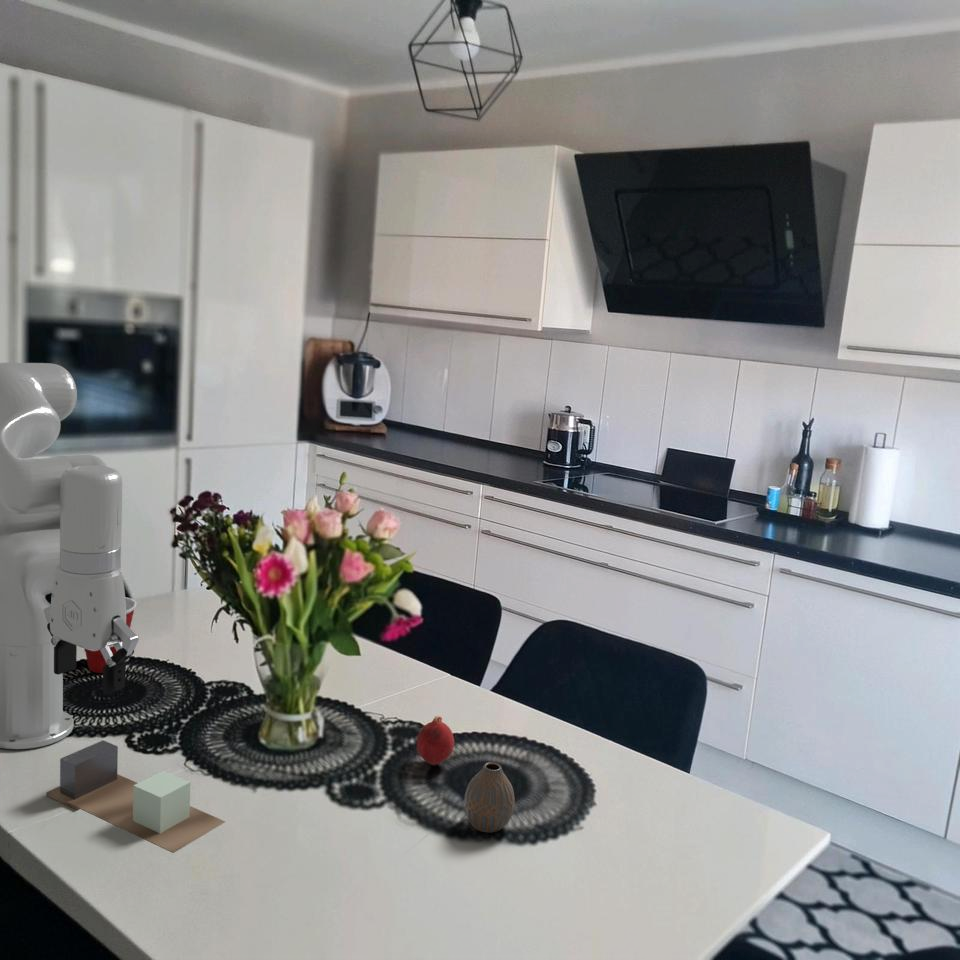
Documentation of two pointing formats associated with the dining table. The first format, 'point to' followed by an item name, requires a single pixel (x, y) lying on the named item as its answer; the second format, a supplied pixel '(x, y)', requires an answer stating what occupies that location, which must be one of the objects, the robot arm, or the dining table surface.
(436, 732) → the red pomegranate
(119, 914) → the dining table surface
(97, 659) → the plastic cup
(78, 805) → the board with grey block
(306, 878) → the dining table surface
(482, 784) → the vase
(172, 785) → the sage block
